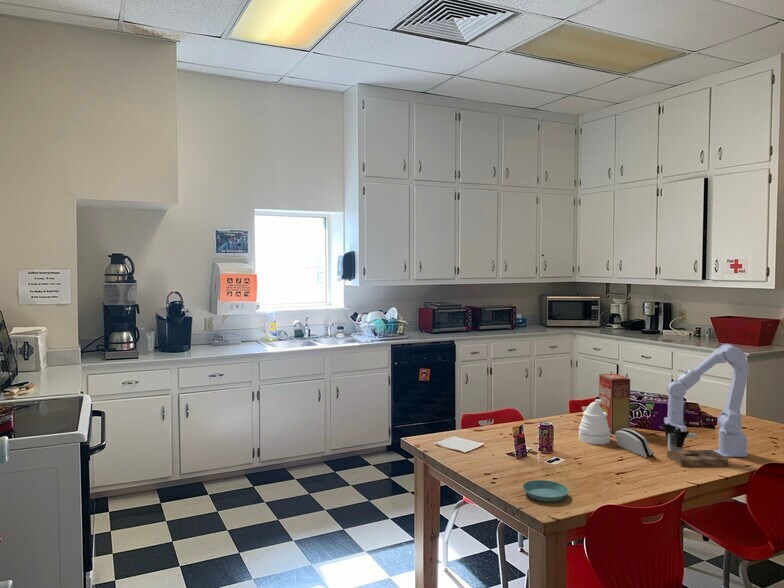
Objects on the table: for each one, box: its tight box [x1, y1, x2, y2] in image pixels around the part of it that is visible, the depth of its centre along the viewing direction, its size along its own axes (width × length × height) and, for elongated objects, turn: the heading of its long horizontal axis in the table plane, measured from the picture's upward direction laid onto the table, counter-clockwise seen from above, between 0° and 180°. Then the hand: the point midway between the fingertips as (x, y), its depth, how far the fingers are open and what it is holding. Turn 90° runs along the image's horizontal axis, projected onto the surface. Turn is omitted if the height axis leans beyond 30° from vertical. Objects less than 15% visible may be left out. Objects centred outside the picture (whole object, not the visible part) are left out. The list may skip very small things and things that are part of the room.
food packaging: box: [598, 373, 631, 435], centre depth 271 cm, size 13×9×25 cm
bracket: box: [667, 432, 698, 451], centre depth 241 cm, size 11×2×7 cm, turn 92°
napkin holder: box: [614, 428, 655, 458], centre depth 240 cm, size 17×5×10 cm, turn 17°
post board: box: [666, 449, 729, 467], centre depth 228 cm, size 18×11×2 cm, turn 92°
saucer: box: [521, 479, 569, 503], centre depth 195 cm, size 15×15×3 cm
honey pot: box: [578, 398, 611, 445], centre depth 255 cm, size 13×13×18 cm
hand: (674, 444), depth 241 cm, fingers open, 7 cm apart
